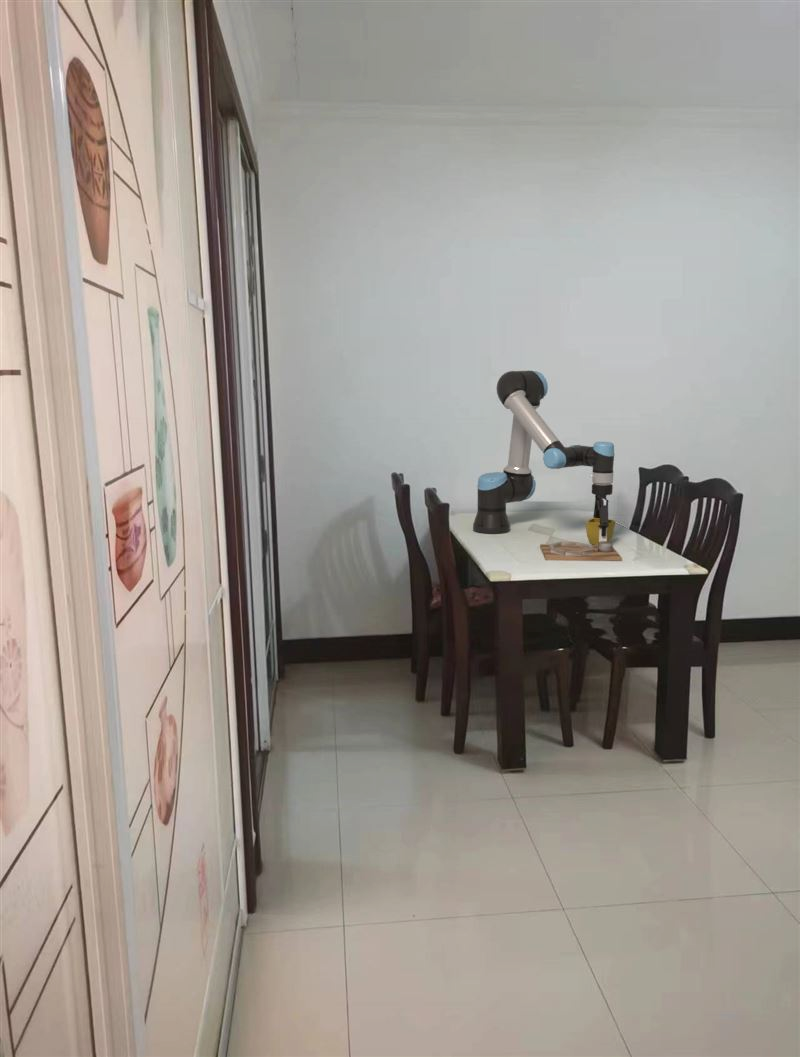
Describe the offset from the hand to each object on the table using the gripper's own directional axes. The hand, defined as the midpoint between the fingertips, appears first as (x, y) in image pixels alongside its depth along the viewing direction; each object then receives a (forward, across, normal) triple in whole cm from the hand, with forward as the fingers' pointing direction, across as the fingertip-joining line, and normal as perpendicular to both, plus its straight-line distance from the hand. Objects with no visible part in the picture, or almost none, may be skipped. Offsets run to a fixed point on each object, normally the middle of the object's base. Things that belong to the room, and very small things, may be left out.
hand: (599, 541), depth 301 cm
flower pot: (+1, 0, 0) cm, 1 cm away
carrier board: (+1, +17, -10) cm, 20 cm away
